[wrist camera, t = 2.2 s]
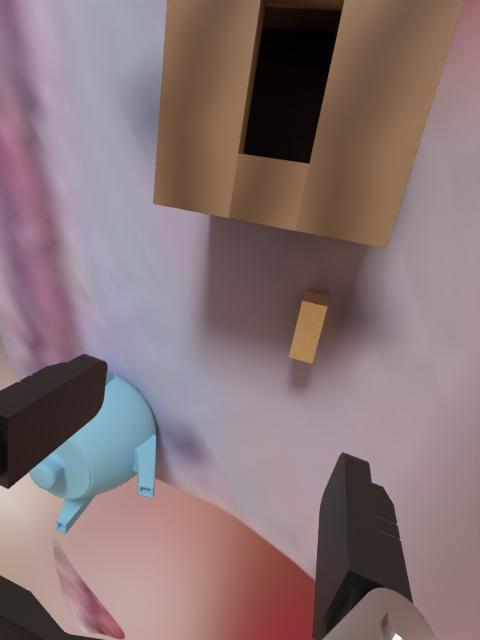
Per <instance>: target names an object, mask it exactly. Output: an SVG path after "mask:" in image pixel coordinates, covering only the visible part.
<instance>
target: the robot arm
mask: <svg viewBox="0 0 480 640" xmlns="http://www.w3.org/2000/svg"><path fill="white" fill-rule="evenodd" d="M106 377H107V363H106V362H105V361H103V360H100V359H97V358H95V357H92V356H89V355H87V354H82V355H80V356H78V357H77V358H75V359H73V360H71V361H69V362H67V363H65V362H63V363H59V364H55V365H51V366H47V367H45V368H43V369H41V370H39V371H38V372H36V373H34V374H33V375H32V376H28V377H26V378H24V379H22V380H21V381H20V382H16V383H14V384H13V385H11V386H9V387H7V388H5V389H3V390H1V391H0V485H1V486H3V487H5V488H7V489H9V488H10V487H11V486H12V485H14V484H15V483H16V482H17V481H19V480H20V479H21V478H22V477H23V476H25V475H26V474H27V473H28V472H29V471H31V470H32V469H33V468H34V467H35V466H37V465H38V464H39V463H40V462H41V461H43V460H44V459H45V458H46V457H47V456H49V455H50V454H51V453H52V452H54V451H55V450H56V449H57V448H58V447H60V446H61V445H62V444H63V443H64V442H66V441H67V440H68V439H69V438H70V437H72V436H73V435H74V434H75V433H76V432H78V431H79V430H80V429H81V428H82V427H84V426H85V425H86V424H87V423H88V422H90V421H91V420H92V419H93V418H94V417H95V416H96V415H97V414H98V413H99V411H100V409H101V407H102V405H103V402H104V395H105V386H106ZM396 524H397V520H396V515H395V510H394V505H393V503H392V501H391V500H390V498H389V496H388V495H387V493H386V491H385V489H384V488H383V487H382V486H379V485H377V484H374V483H372V481H371V473H370V466H369V463H368V462H367V461H364V460H362V459H359V458H357V457H354V456H351V455H349V454H346V453H341V455H340V456H339V459H338V461H337V463H336V465H335V468H334V470H333V472H332V475H331V477H330V479H329V481H328V484H327V486H326V488H325V491H324V494H323V497H322V501H321V506H320V513H319V531H318V548H317V565H316V583H315V601H314V618H313V636H312V638H313V639H315V640H436V638H435V635H434V633H433V631H432V629H431V627H430V625H429V624H428V622H427V620H426V619H425V618H424V616H423V615H422V613H421V612H420V611H419V610H418V609H417V608H416V607H415V606H414V605H413V601H412V596H411V591H410V586H409V581H408V576H407V570H406V565H405V560H404V555H403V550H402V545H401V541H399V538H400V535H399V530H398V526H397V525H396ZM0 640H103V639H96V638H90V637H83V636H77V635H71V634H68V633H66V632H64V631H63V630H62V629H61V628H60V626H59V625H58V624H57V623H56V622H55V621H54V619H53V618H52V617H51V616H50V614H49V613H48V612H47V611H46V610H45V608H44V607H43V606H42V605H41V604H40V602H39V601H38V600H37V599H36V598H35V596H34V595H33V594H32V593H31V592H30V591H28V590H26V589H25V588H23V587H21V586H19V585H17V584H15V583H13V582H12V581H10V580H8V579H6V578H4V577H2V576H0Z"/></svg>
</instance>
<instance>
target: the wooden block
mask: <svg viewBox="0 0 480 640" xmlns="http://www.w3.org/2000/svg"><path fill="white" fill-rule="evenodd" d="M328 301H329V295H326V294H321V293H317V292H312V291H308V290H307V291H306V293H305V295H304V298H303V300H302V304H301V308H300V312H299V316H298V320H297V325H296V329H295V333H294V337H293V341H292V345H291V350H290V354H289V358H293V359H297V360H300V361H304V362H308V363H311V364H313V360H314V356H315V352H316V349H317V345H318V341H319V337H320V334H321V330H322V326H323V323H324V319H325V315H326V311H327V308H328Z"/></svg>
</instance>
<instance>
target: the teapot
mask: <svg viewBox="0 0 480 640" xmlns="http://www.w3.org/2000/svg"><path fill="white" fill-rule="evenodd" d="M155 462H156V425H155V421H154V417H153V414H152V411H151V409H150V406H149V404H148V402H147V401H146V399H145V398H144V396H143V395H142V394H141V393H140V391H139V390H138V389H137V388H136V387H134V386H133V385H132V384H131V383H129V382H128V381H126V380H125V379H123V378H121V377H119V376H117V375H115V374H112V373H110V372H107V377H106V386H105V395H104V402H103V405H102V407H101V409H100V411H99V413H98V414H97V415H96V416H95V417H94V418H93V419H92V420H91V421H90V422H88V423H87V424H86V425H85V426H84V427H82V428H81V429H80V430H79V431H78V432H76V433H75V434H74V435H73V436H72V437H70V438H69V439H68V440H67V441H66V442H64V443H63V444H62V445H61V446H60V447H58V448H57V449H56V450H55V451H54V452H52V453H51V454H50V455H49V456H47V457H46V458H45V459H44V460H43V461H41V462H40V463H39V464H38V465H37V466H35V467H34V468H33V469H32V470H31V471H29V473H30V476H31V478H32V480H33V481H34V483H36V484H37V485H38V486H39V487H41V488H43V489H45V490H47V491H48V492H50V493H52V494H54V495H56V496H58V497H62V498H65V502H64V505H63V508H62V510H61V513H60V515H59V518H58V519H57V521H56V525H57V526H56V529H57V530H58V531H60V532H62V533H64V534H66V533H67V532H68V530H69V529H70V528H71V526H72V525H73V524H74V523H75V521H76V520H77V519H78V517H79V516H80V515H81V514H82V512H83V511H84V510H85V508H86V507H87V506H88V505H89V503H90V502H91V501H92V499H93V498H94V497H95V496H96V494H99V493H103V492H106V491H109V490H111V489H114V488H116V487H118V486H119V485H122V484H123V483H125V482H127V481H128V480H130V479H131V478H132V477H134V476H135V475H136V474H137V473H138V486H137V487H138V488H137V490H138V491H137V494H138V495H142V496H146V497H150V498H153V497H154V484H155Z"/></svg>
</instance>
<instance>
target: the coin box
mask: <svg viewBox="0 0 480 640" xmlns="http://www.w3.org/2000/svg"><path fill="white" fill-rule="evenodd" d="M463 2H464V0H167V13H166V27H165V42H164V56H163V70H162V85H161V99H160V113H159V128H158V142H157V156H156V171H155V185H154V199H153V204H157V205H162V206H168V207H173V208H178V209H183V210H189V211H194V212H199V213H204V214H209V215H215V216H220V217H225V218H230V219H236V220H241V221H246V222H251V223H257V224H262V225H267V226H272V227H277V228H283V229H288V230H293V231H298V232H304V233H309V234H314V235H319V236H324V237H330V238H335V239H340V240H345V241H351V242H356V243H361V244H366V245H371V246H377V247H382V248H387V246H388V242H389V239H390V236H391V233H392V230H393V226H394V223H395V220H396V217H397V214H398V210H399V207H400V204H401V201H402V198H403V194H404V191H405V188H406V185H407V182H408V178H409V175H410V172H411V169H412V166H413V162H414V159H415V156H416V153H417V150H418V146H419V143H420V140H421V137H422V134H423V130H424V127H425V124H426V121H427V118H428V114H429V111H430V108H431V105H432V102H433V98H434V95H435V92H436V89H437V86H438V82H439V79H440V76H441V73H442V70H443V66H444V63H445V60H446V57H447V54H448V50H449V47H450V44H451V41H452V38H453V34H454V31H455V28H456V25H457V22H458V18H459V15H460V12H461V9H462V6H463ZM262 28H274V29H290V30H305V31H321V32H337V38H336V42H335V47H334V52H333V56H332V61H331V66H330V70H329V75H328V80H327V84H326V89H325V94H324V98H323V103H322V108H321V112H320V117H319V122H318V126H317V131H316V136H315V140H314V145H313V149H312V154H311V159H310V163H309V164H307V163H300V162H293V161H286V160H280V159H273V158H266V157H259V156H253V155H246V154H243V153H244V146H245V139H246V133H247V126H248V119H249V113H250V106H251V100H252V93H253V86H254V80H255V73H256V66H257V60H258V53H259V47H260V40H261V33H262Z"/></svg>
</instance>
